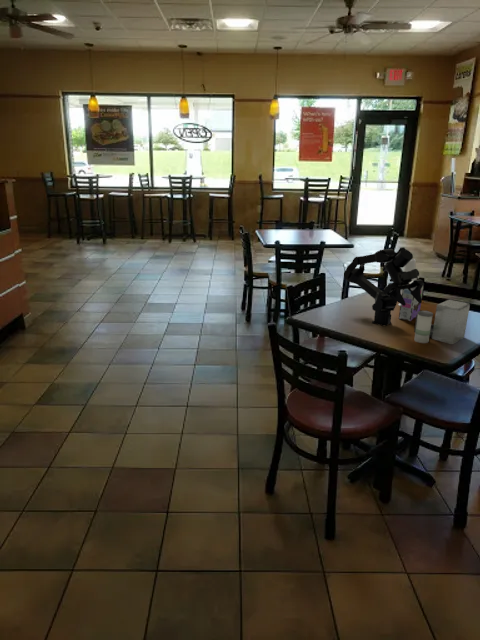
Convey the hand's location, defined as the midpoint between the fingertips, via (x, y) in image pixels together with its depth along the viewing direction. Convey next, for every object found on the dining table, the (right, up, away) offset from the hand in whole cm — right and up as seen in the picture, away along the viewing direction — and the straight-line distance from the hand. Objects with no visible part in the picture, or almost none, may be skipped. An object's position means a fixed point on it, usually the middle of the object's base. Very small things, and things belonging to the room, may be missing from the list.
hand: (412, 304), depth 201 cm
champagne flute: (+13, +1, +48) cm, 49 cm away
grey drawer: (+9, -12, +7) cm, 17 cm away
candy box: (+9, -5, +29) cm, 30 cm away
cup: (+3, -15, -2) cm, 16 cm away
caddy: (+15, -14, +1) cm, 21 cm away
